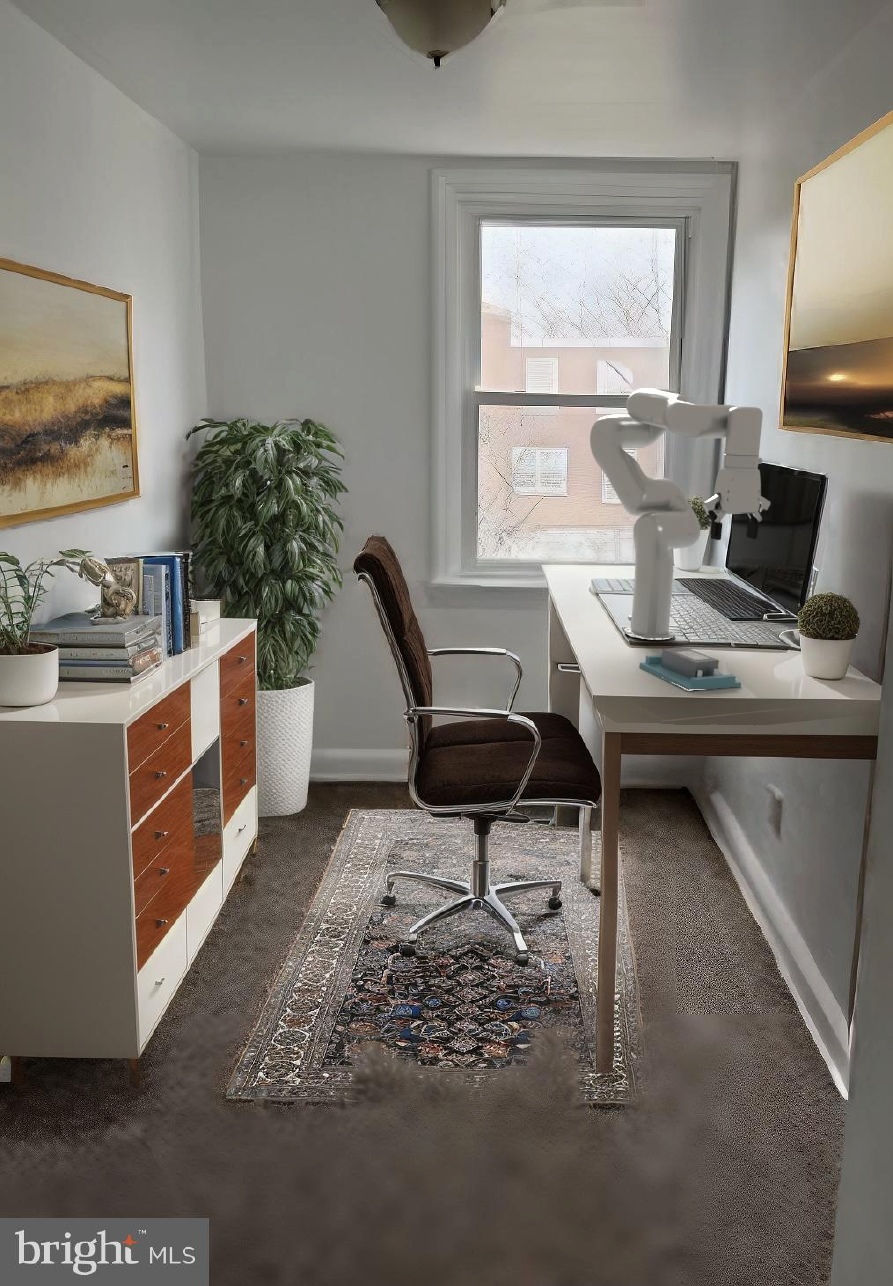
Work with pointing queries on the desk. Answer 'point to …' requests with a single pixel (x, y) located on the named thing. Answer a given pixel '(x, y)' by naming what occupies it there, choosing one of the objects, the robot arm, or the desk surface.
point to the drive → (688, 662)
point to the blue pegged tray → (694, 683)
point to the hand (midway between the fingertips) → (733, 538)
